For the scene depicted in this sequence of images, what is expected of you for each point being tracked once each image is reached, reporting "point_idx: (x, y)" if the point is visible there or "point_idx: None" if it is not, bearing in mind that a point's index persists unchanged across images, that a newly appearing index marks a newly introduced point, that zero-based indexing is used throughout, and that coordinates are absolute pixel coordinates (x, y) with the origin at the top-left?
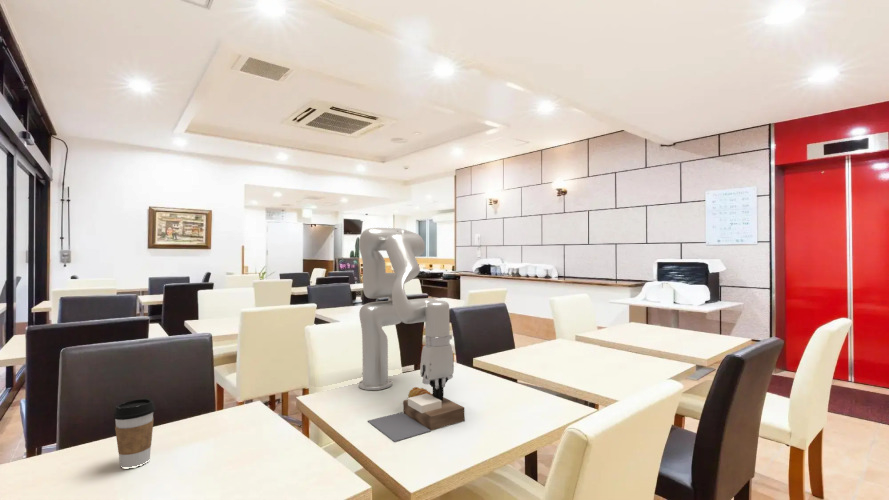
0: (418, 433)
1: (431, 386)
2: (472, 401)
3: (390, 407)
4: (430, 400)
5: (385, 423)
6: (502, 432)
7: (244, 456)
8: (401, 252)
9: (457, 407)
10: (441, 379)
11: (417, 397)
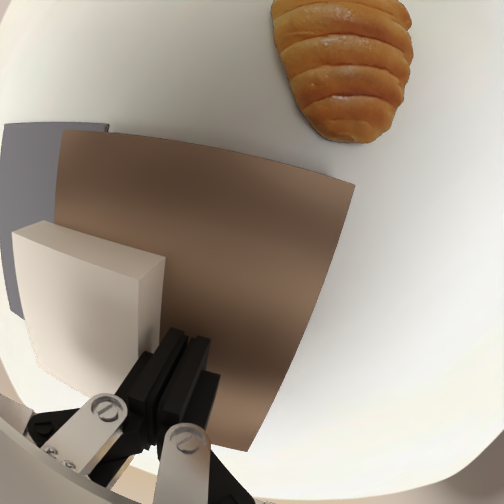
0: None
1: (98, 398)
2: (470, 309)
3: (130, 26)
4: (91, 376)
5: (17, 191)
6: (258, 477)
7: None
8: None
9: (223, 437)
10: (194, 495)
11: (48, 278)
